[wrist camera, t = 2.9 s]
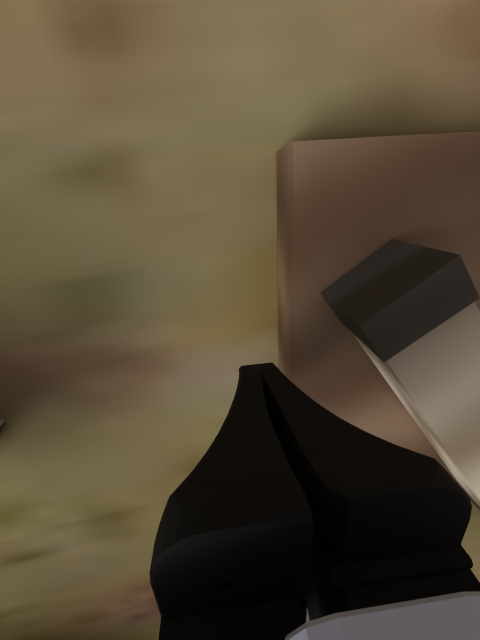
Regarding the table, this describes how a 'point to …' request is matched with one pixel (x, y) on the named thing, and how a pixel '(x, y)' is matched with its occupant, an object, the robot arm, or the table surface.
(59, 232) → the table surface
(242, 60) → the table surface
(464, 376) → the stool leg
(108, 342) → the table surface
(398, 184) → the stool seat
